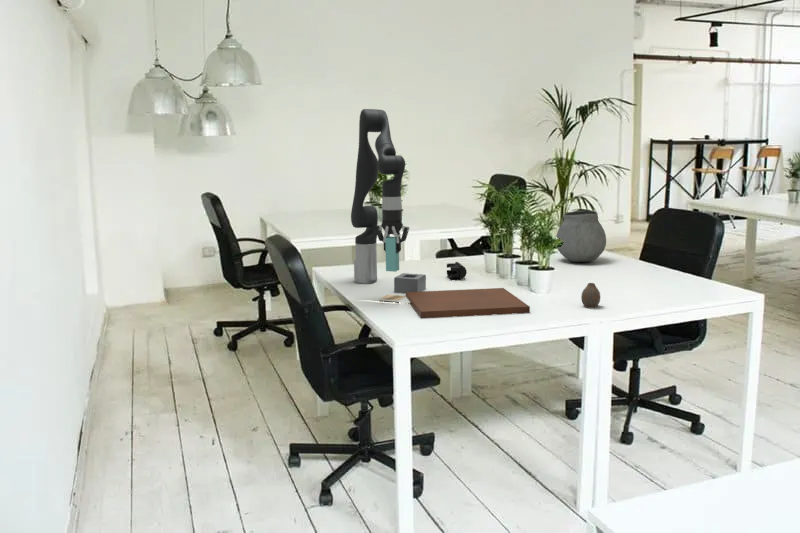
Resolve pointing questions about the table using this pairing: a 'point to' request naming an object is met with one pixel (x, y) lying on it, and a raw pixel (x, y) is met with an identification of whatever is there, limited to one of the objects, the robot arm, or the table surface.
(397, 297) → the mat
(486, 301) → the flat brown board
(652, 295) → the table surface
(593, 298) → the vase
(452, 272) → the end cap
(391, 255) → the plug
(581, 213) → the ceramic pot
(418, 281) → the grey square socket block
